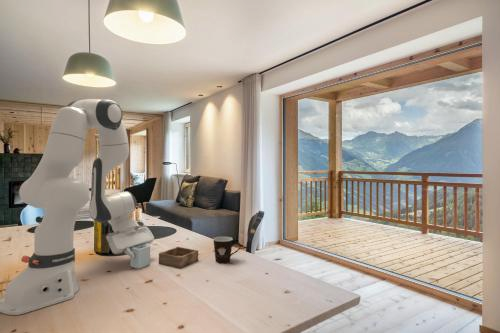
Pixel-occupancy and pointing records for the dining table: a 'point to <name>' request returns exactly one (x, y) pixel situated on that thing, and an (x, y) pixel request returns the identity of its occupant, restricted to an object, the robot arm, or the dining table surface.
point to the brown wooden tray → (178, 257)
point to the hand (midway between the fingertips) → (141, 255)
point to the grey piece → (140, 256)
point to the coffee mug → (223, 249)
